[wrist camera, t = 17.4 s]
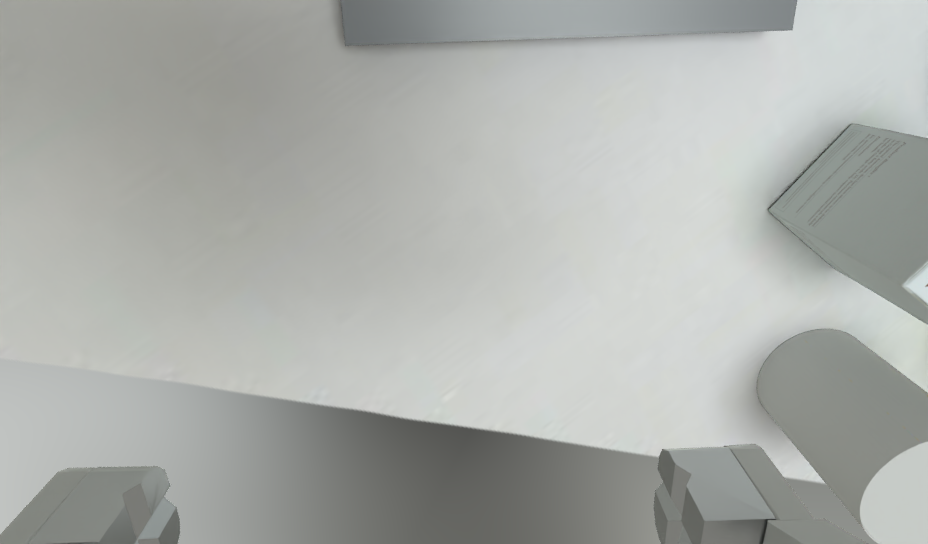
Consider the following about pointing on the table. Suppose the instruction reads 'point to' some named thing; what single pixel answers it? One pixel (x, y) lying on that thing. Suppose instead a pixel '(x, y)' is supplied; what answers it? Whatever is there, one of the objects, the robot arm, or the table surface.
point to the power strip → (553, 19)
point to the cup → (854, 428)
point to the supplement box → (868, 212)
